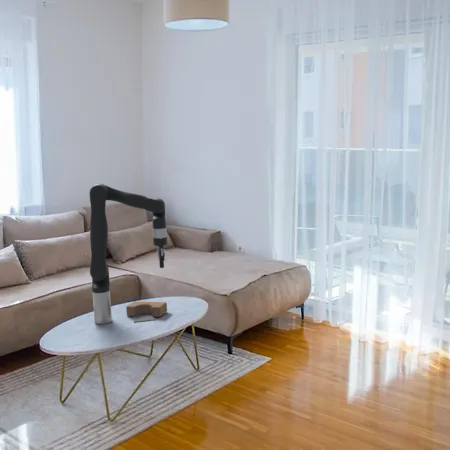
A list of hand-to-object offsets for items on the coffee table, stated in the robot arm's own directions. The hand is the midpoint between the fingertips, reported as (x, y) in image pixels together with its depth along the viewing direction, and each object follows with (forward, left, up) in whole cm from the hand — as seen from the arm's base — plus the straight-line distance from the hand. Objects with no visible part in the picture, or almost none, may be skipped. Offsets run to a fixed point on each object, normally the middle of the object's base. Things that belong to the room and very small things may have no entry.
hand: (161, 267), depth 321 cm
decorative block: (0, +5, -25) cm, 26 cm away
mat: (-11, +3, -28) cm, 31 cm away
